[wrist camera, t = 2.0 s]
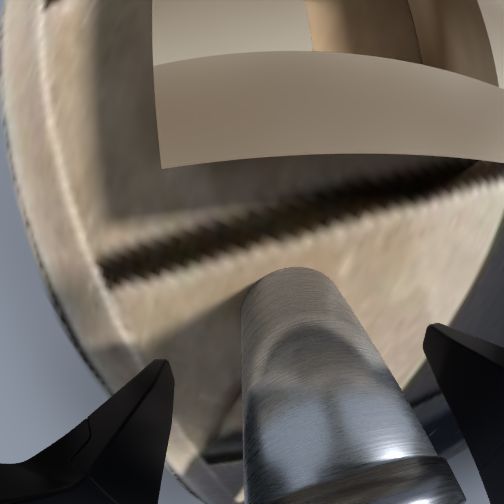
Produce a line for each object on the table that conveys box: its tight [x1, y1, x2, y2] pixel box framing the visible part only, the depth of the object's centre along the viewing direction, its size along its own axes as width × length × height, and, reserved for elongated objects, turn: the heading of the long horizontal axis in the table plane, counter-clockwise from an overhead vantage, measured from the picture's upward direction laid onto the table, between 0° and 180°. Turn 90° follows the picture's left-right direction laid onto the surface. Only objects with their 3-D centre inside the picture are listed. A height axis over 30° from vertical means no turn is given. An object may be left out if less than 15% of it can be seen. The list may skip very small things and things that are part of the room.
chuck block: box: [152, 0, 504, 169], centre depth 6 cm, size 10×12×4 cm
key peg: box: [241, 267, 466, 504], centre depth 7 cm, size 4×4×9 cm
